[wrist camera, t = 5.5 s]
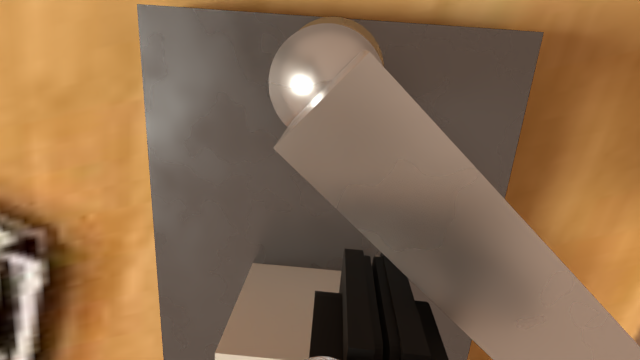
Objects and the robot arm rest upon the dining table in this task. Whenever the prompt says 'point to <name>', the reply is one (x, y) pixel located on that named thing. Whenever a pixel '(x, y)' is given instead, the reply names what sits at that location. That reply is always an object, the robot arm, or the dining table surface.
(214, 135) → the base plate
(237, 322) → the cover cap
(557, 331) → the white bent handle
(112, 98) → the dining table surface
